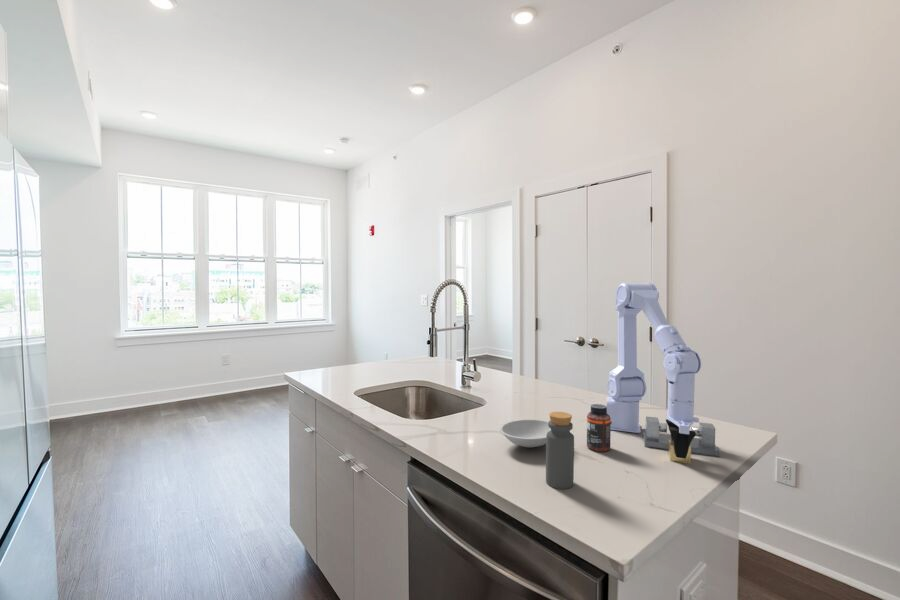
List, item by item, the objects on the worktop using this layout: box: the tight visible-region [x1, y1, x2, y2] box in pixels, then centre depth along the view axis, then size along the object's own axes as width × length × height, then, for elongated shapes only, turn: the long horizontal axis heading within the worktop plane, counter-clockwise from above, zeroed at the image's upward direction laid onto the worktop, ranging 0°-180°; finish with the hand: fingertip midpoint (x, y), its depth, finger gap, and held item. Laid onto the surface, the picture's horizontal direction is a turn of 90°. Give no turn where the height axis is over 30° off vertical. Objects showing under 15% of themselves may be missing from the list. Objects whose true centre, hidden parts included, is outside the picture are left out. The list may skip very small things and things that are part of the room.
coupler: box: [667, 440, 692, 465], centre depth 104 cm, size 4×4×4 cm
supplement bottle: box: [586, 403, 612, 453], centre depth 111 cm, size 6×6×11 cm
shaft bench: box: [642, 416, 720, 457], centre depth 113 cm, size 17×8×6 cm, turn 68°
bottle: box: [545, 411, 575, 490], centre depth 91 cm, size 6×6×15 cm
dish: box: [498, 418, 551, 449], centre depth 112 cm, size 18×14×5 cm
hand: (679, 453), depth 104 cm, fingers open, 5 cm apart
